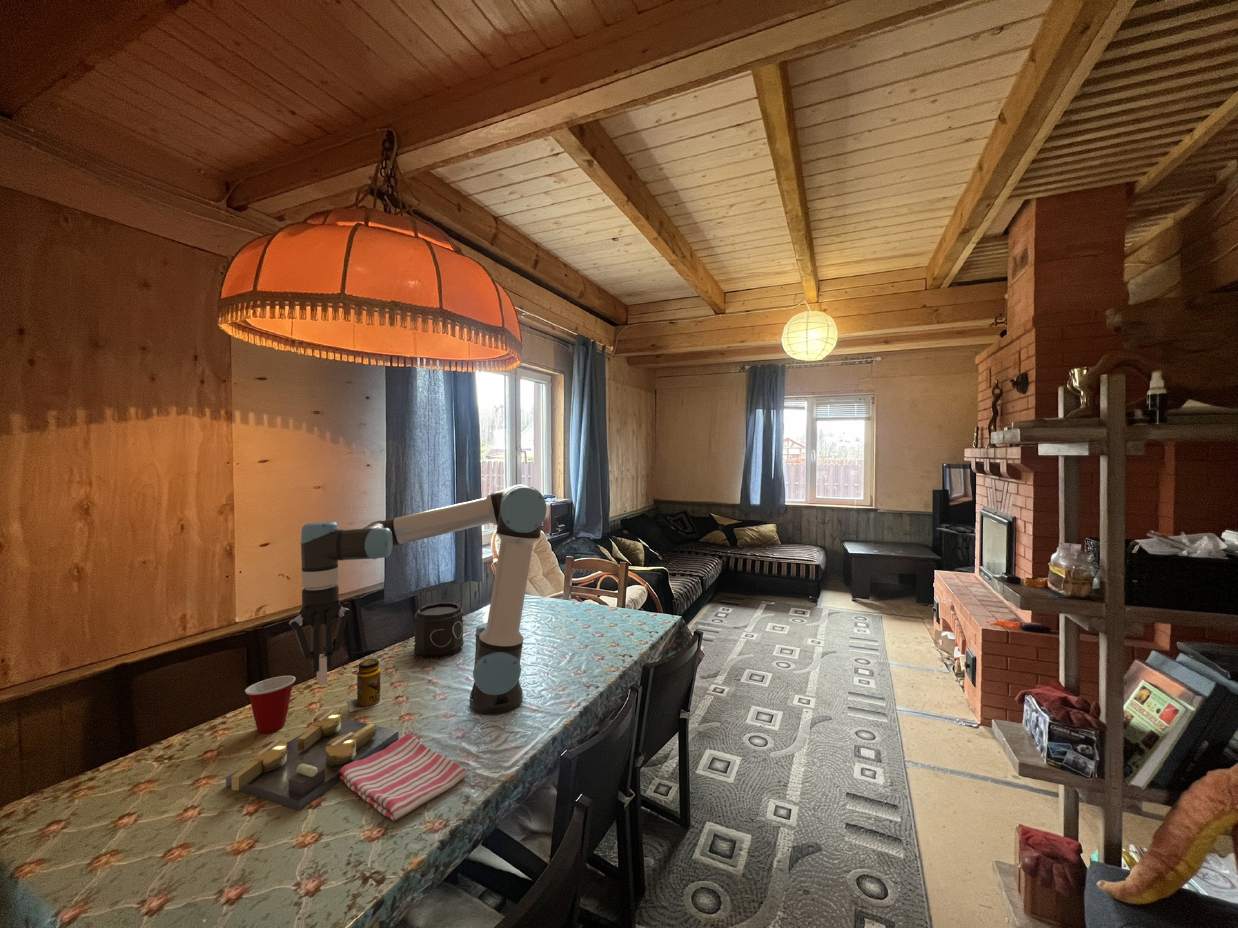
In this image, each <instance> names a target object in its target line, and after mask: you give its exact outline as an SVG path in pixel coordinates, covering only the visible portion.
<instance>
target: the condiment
mask: <svg viewBox="0 0 1238 928" xmlns="http://www.w3.org/2000/svg"><path fill="white" fill-rule="evenodd" d="M356 689H357V690H356V695H357V696H356V699H355V698H354V699H350V700H347V704H348V709H349V711H348V712H349V713H352V712H356V711H360V710H364V709H368V708H372V707H378V706H380V705H383V704H384V702H383V700H382V695H381V668H380V661H379V659H377V658H367V659H364V660H362V661H360V662H359V663H358V672H357V676H356Z"/></svg>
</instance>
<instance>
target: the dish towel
mask: <svg viewBox="0 0 1238 928" xmlns="http://www.w3.org/2000/svg"><path fill="white" fill-rule="evenodd" d="M339 772H340V773H341V774H342V775H341V776H340V779H341V781H342V782H344V784H345V786H347V787H348V788H349V789H350V790H351V791H353V792H354V793H356V794H358V795H359V797H360V798H362V800H363V801H365V802H367V803H368V804H370V805H372V806H373V807H374V809H375V810H377V811H378V813H380V814H381V815H383V816H384V817H387V818H389V819H391V820H392V821H397V820H399V819H401V818H402V817H405V816H406V815H407V814H410V813H411V812H412V811H414V810H416V809H417V808H420V807H421V806H422V805H424V804H426V803H428V802H429V801H431V800H433V799H434V798H436V797H438V796H440V795H441V794H443V793H445V792H446V791H447V790H450V789H452V787H454V786H455V785H457V784H458V783H459V782H461V781H462V780H463V779H464V780H465V779H466V778H467V775H468V772H467V770H466V769H465V768H464V766H461V765H459V764H458V763H457V762H455V761H454V760H452V759H451V758H449V757H446V756H445V755H441V754H440V753H439V752H437V751H436V750H434V749H431V748H430V747H427V746H425V745H424V744H423V743H422V742H421V741H420V740H419V739H418V738H416V737H414V736H412V733H411V732H407V733H406V734H404V735H402V736H401V738H398V740H396V741H395V742H393V743H392V744H391V745H389V746H388V747H387V748H385V749H384V750H382V751H379V752H377V753H375V754H373V755H371V756H369V757H367V758H365V759H362V760H358V761H355V762H352V763H349V764H347V765H344V766H343V767H342V768H341V769H340V770H339Z"/></svg>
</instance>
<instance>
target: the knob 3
mask: <svg viewBox="0 0 1238 928" xmlns="http://www.w3.org/2000/svg"><path fill="white" fill-rule="evenodd" d="M368 724H369V725H367V726H365V727H364V728H362V729H361V730H359V731H358V732H356V733H352V732H350V733H349V734H347V735H341V736H338V737H335V738H333V739H332V740H330V741H329V742H328V743H327V744H326V763H327V764H328V765H340V764H344V763H346V762H348V761H350V760H352V759H353V758H354V757H355V755H356V748H358V747H359V746H361V745H362V744H364V743H365V742H367V741H368V740H370V739H371V738H373V737H374V736H375V726H376V724H374V723H368Z"/></svg>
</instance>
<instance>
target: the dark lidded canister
mask: <svg viewBox="0 0 1238 928" xmlns="http://www.w3.org/2000/svg"><path fill="white" fill-rule="evenodd" d="M463 616H464V610H463V607H461V605H460V604H459V603H456V602H455V603H454V602H436V603H431V604H430V603H429V604H425V605H424V606H422V607H419V608H418V609H417V611H416V612H415V614H414V619H413V621H414V622H415V623H414V647H413V648H414V649H413V650H414V653H416V655H417V657H420V658H423V659H425V660H426V659H427V660H428V659H430V660H433V659H442V658H447V657H450V656H453V655H455V654H457V653H458V652H459V651H460V649H462V647H463V646H464V642H465V641H464V621H463V619H464V618H463ZM446 656H447V657H446Z"/></svg>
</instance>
